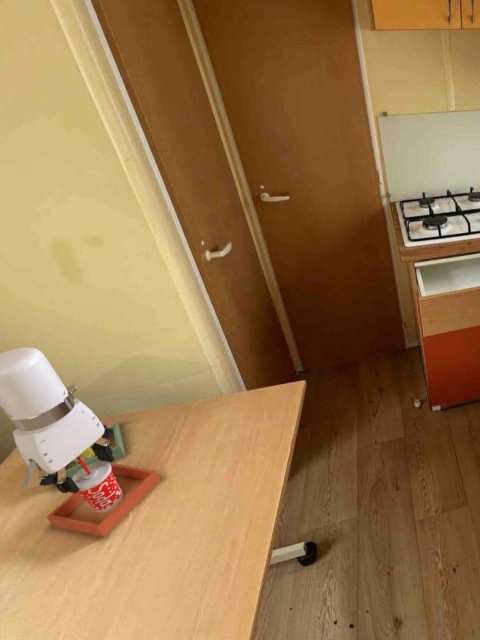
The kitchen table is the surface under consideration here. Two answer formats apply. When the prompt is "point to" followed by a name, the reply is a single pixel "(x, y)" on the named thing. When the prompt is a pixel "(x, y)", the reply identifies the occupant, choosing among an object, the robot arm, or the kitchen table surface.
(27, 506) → the kitchen table surface
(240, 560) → the kitchen table surface
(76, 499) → the bin
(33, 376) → the robot arm
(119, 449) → the bin
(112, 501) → the beverage cup
